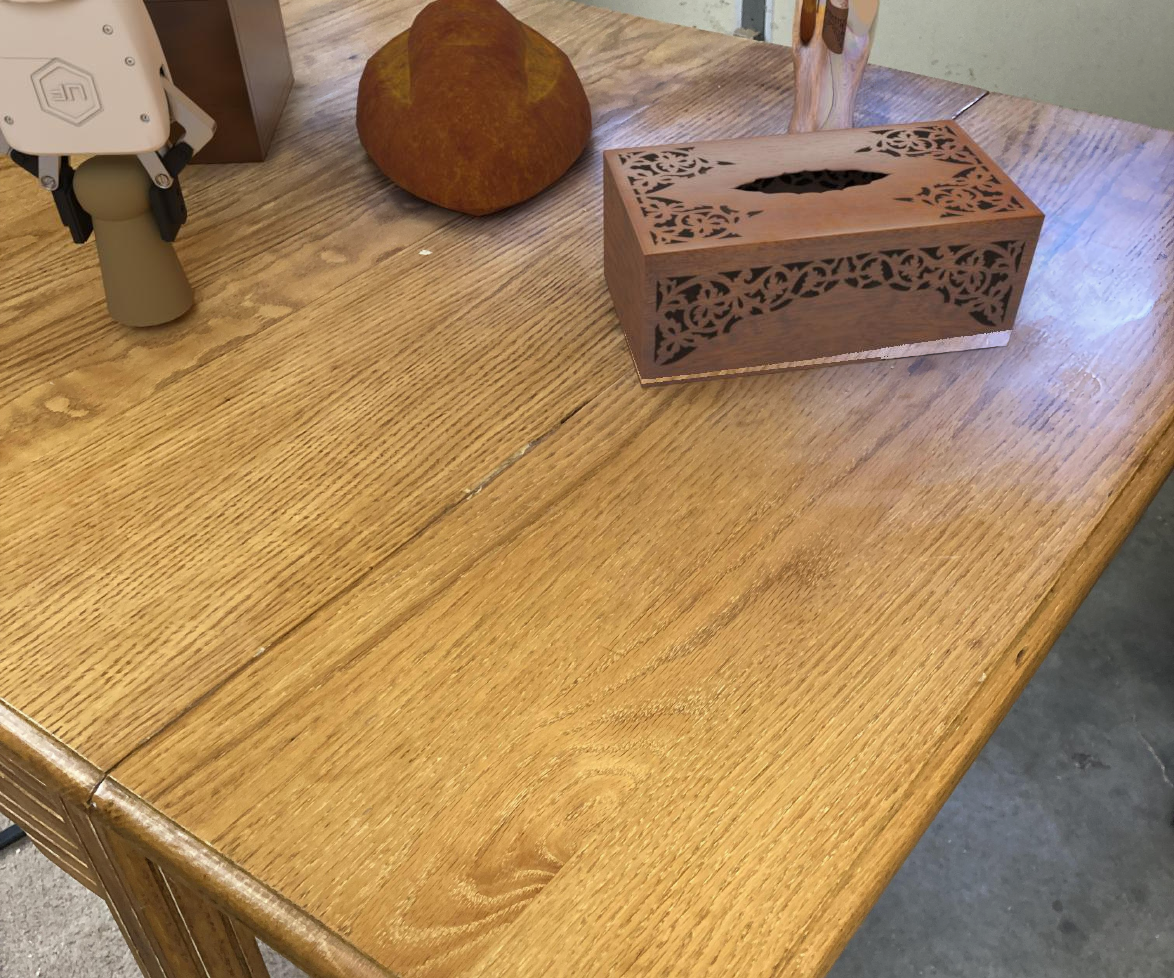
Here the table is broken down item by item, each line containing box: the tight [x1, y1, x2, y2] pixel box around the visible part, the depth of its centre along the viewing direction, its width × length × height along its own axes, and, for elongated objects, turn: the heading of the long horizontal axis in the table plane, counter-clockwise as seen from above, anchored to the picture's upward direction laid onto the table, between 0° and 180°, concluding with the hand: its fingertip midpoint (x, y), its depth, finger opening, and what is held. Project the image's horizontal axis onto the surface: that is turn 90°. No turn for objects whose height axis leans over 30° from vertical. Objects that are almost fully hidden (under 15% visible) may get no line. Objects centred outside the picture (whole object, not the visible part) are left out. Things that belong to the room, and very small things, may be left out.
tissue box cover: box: [602, 118, 1046, 388], centre depth 78 cm, size 26×14×10 cm, turn 99°
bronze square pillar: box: [134, 0, 295, 165], centre depth 101 cm, size 14×18×16 cm
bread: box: [355, 0, 593, 217], centre depth 98 cm, size 21×33×12 cm, turn 2°
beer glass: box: [785, 0, 881, 134], centre depth 96 cm, size 7×7×15 cm
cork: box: [73, 154, 195, 328], centre depth 77 cm, size 6×6×11 cm
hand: (129, 230), depth 77 cm, fingers closed on cork, 5 cm apart
